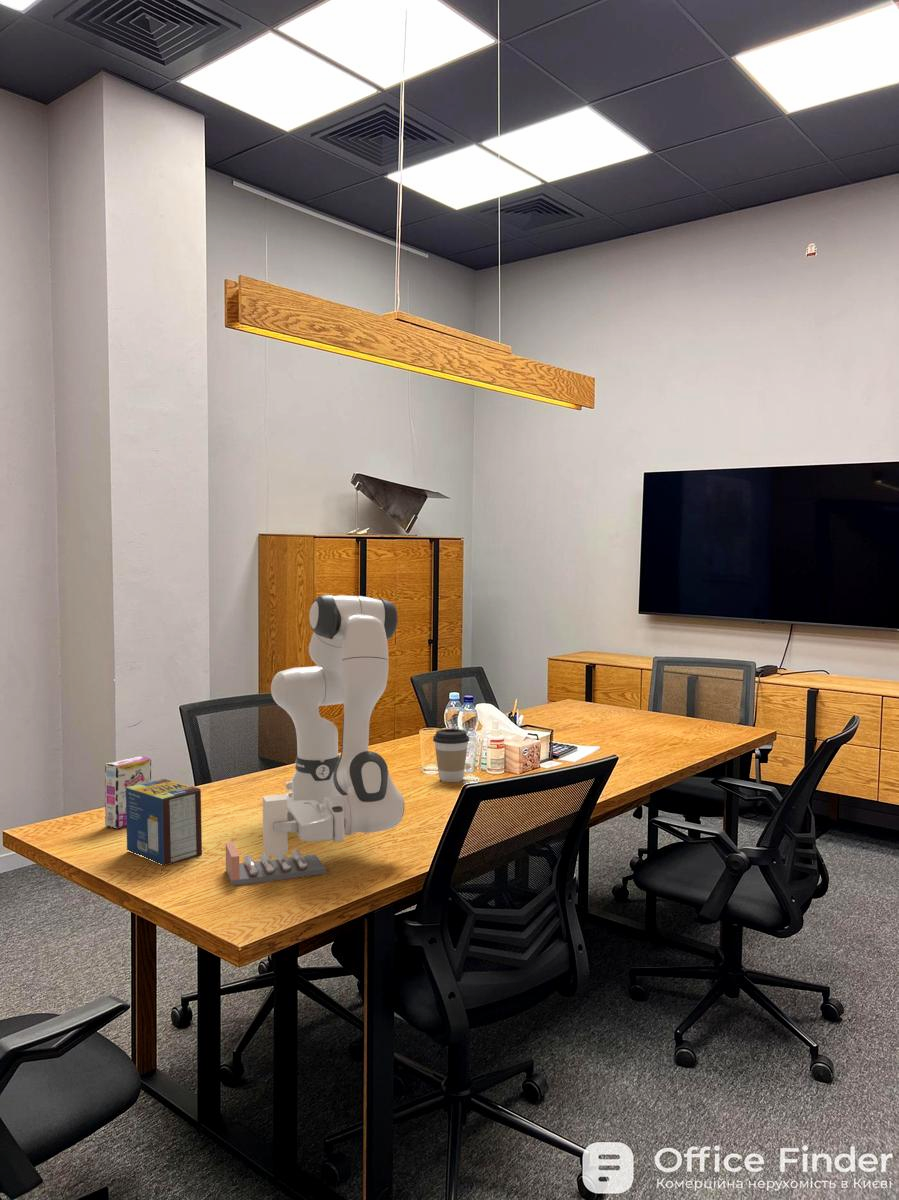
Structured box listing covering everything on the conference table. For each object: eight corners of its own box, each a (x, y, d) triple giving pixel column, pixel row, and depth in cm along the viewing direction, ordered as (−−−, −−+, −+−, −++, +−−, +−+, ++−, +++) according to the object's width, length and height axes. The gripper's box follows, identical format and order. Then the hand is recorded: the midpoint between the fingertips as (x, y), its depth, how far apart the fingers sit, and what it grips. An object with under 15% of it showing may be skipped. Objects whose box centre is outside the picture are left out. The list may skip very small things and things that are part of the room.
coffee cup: (469, 775, 283) (469, 728, 282) (469, 784, 272) (469, 735, 271) (433, 775, 284) (433, 728, 283) (431, 784, 272) (431, 735, 271)
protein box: (164, 841, 218) (163, 778, 217) (202, 854, 208) (201, 788, 208) (125, 852, 210) (124, 786, 209) (163, 866, 200) (162, 798, 200)
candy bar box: (117, 830, 227) (116, 766, 226) (104, 827, 229) (103, 763, 229) (153, 819, 236) (152, 757, 236) (140, 816, 239) (139, 755, 238)
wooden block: (263, 850, 198) (262, 796, 197) (283, 847, 199) (283, 794, 199) (266, 856, 193) (266, 801, 193) (287, 854, 195) (287, 799, 195)
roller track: (225, 870, 198) (225, 842, 197) (315, 859, 205) (315, 832, 205) (231, 886, 188) (231, 856, 188) (325, 873, 195) (325, 845, 195)
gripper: (322, 791, 210) (262, 796, 205) (344, 814, 191) (279, 821, 186) (322, 817, 211) (263, 824, 206) (344, 843, 191) (279, 851, 187)
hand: (270, 823), depth 196 cm, fingers closed on wooden block, 4 cm apart
